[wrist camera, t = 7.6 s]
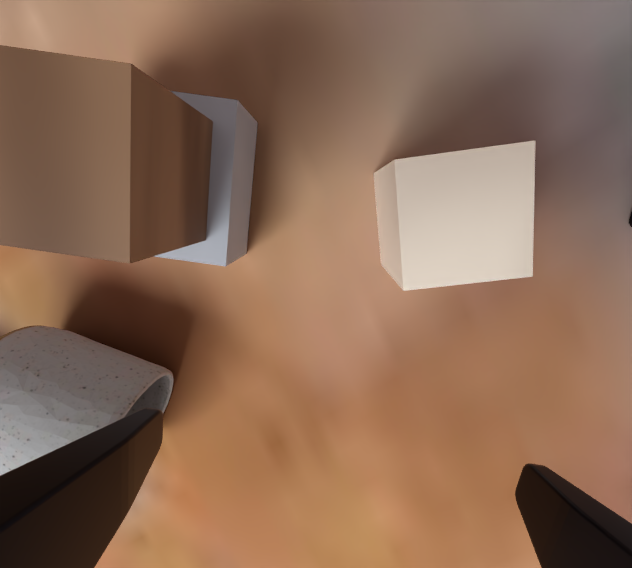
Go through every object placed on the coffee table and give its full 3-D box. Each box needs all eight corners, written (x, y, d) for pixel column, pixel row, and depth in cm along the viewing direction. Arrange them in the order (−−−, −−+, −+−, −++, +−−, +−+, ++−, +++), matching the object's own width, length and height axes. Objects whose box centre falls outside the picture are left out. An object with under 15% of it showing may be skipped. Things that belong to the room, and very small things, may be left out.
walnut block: (213, 121, 14) (131, 63, 8) (205, 240, 15) (129, 263, 9) (94, 104, 14) (-71, 35, 8) (96, 224, 15) (-47, 238, 9)
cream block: (468, 160, 18) (535, 140, 12) (470, 253, 19) (532, 276, 13) (373, 173, 18) (394, 159, 12) (380, 264, 19) (403, 291, 14)
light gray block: (257, 122, 18) (237, 99, 14) (246, 253, 19) (225, 266, 16) (126, 104, 18) (69, 77, 14) (126, 237, 19) (75, 245, 16)
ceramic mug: (59, 300, 21) (-96, 358, 13) (187, 347, 21) (107, 431, 14) (32, 437, 23) (-110, 550, 16) (146, 477, 24) (60, 606, 16)
